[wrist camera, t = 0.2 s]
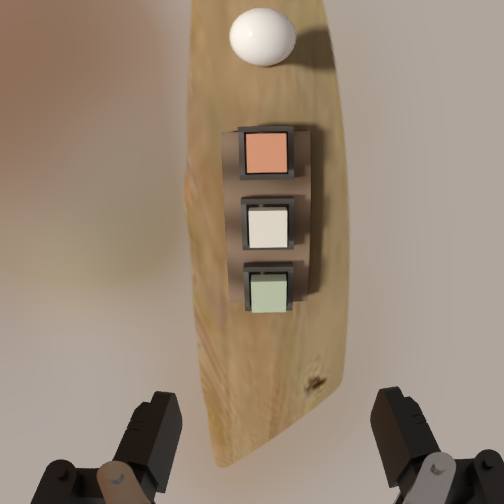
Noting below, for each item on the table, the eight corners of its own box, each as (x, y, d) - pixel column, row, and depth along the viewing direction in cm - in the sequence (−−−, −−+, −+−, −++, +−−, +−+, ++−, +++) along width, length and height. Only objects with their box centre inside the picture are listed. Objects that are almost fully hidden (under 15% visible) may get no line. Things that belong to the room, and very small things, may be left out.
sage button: (251, 274, 35) (250, 281, 34) (285, 274, 35) (286, 281, 33) (252, 304, 37) (252, 312, 35) (284, 303, 37) (285, 311, 35)
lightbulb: (295, 77, 31) (307, 48, 20) (243, 87, 32) (234, 61, 21) (282, 33, 29) (288, -8, 19) (231, 43, 30) (218, 5, 19)
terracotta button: (247, 135, 30) (246, 134, 28) (284, 134, 30) (286, 133, 28) (248, 171, 32) (247, 172, 30) (285, 170, 31) (286, 172, 30)
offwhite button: (249, 207, 33) (248, 211, 31) (285, 207, 33) (287, 210, 31) (250, 242, 34) (249, 247, 32) (285, 241, 34) (287, 247, 32)
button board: (223, 130, 33) (218, 128, 30) (307, 128, 33) (312, 126, 30) (231, 298, 41) (228, 310, 37) (305, 297, 40) (308, 309, 37)
